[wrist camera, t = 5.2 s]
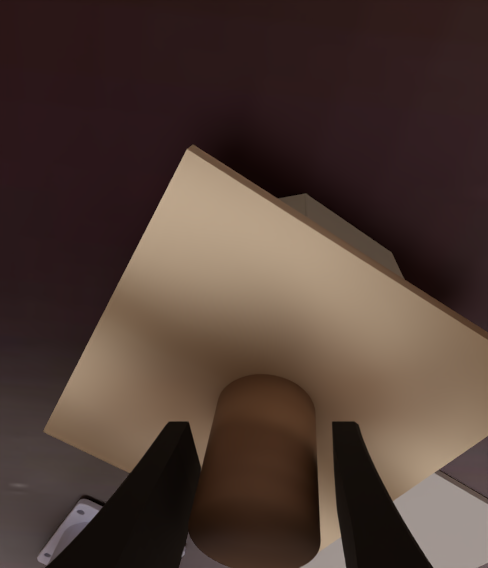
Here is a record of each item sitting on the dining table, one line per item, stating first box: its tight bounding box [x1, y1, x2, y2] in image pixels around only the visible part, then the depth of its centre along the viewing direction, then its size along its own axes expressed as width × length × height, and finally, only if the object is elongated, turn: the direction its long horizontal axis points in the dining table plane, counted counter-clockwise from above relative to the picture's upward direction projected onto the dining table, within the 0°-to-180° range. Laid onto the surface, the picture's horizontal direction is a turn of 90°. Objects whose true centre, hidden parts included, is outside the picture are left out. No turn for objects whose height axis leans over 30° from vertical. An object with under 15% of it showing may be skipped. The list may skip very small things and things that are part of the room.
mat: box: [300, 470, 488, 568], centre depth 25 cm, size 14×14×1 cm
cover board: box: [43, 145, 488, 568], centre depth 12 cm, size 12×12×5 cm
